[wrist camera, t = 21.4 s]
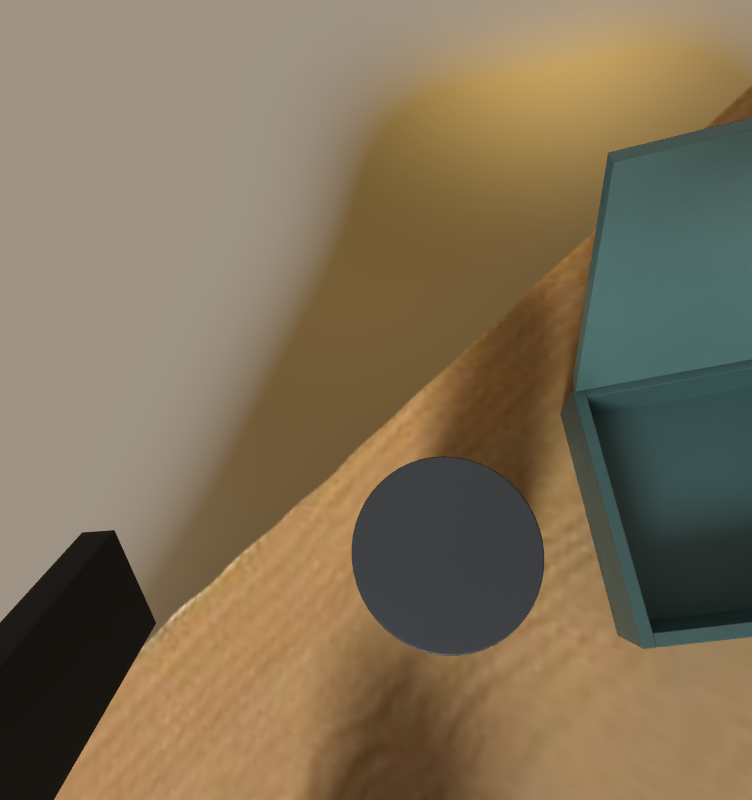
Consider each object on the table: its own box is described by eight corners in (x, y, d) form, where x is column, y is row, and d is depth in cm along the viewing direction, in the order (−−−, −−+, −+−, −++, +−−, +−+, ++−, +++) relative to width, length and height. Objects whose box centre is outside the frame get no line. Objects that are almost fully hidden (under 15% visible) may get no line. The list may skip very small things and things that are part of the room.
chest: (878, 605, 35) (959, 613, 29) (617, 635, 37) (642, 649, 31) (782, 374, 40) (834, 341, 34) (560, 413, 42) (572, 389, 36)
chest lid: (1084, 49, 19) (1067, 39, 20) (613, 163, 22) (607, 152, 22) (842, 343, 33) (835, 333, 34) (575, 391, 36) (572, 382, 36)
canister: (534, 513, 40) (563, 483, 25) (505, 639, 38) (519, 687, 23) (417, 481, 43) (381, 436, 28) (384, 597, 41) (327, 616, 26)
